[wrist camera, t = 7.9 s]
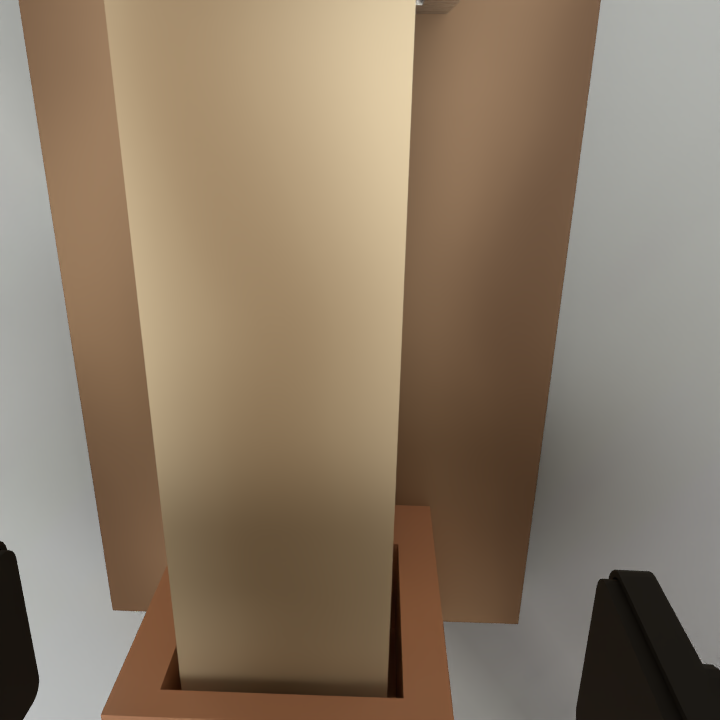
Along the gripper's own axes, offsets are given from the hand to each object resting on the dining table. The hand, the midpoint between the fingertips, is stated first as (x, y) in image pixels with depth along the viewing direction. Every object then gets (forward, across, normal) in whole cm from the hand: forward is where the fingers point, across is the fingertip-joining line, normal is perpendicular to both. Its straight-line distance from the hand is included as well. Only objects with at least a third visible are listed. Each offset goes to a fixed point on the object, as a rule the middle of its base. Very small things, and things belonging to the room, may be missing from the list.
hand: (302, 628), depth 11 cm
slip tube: (+5, +1, -4) cm, 7 cm away
